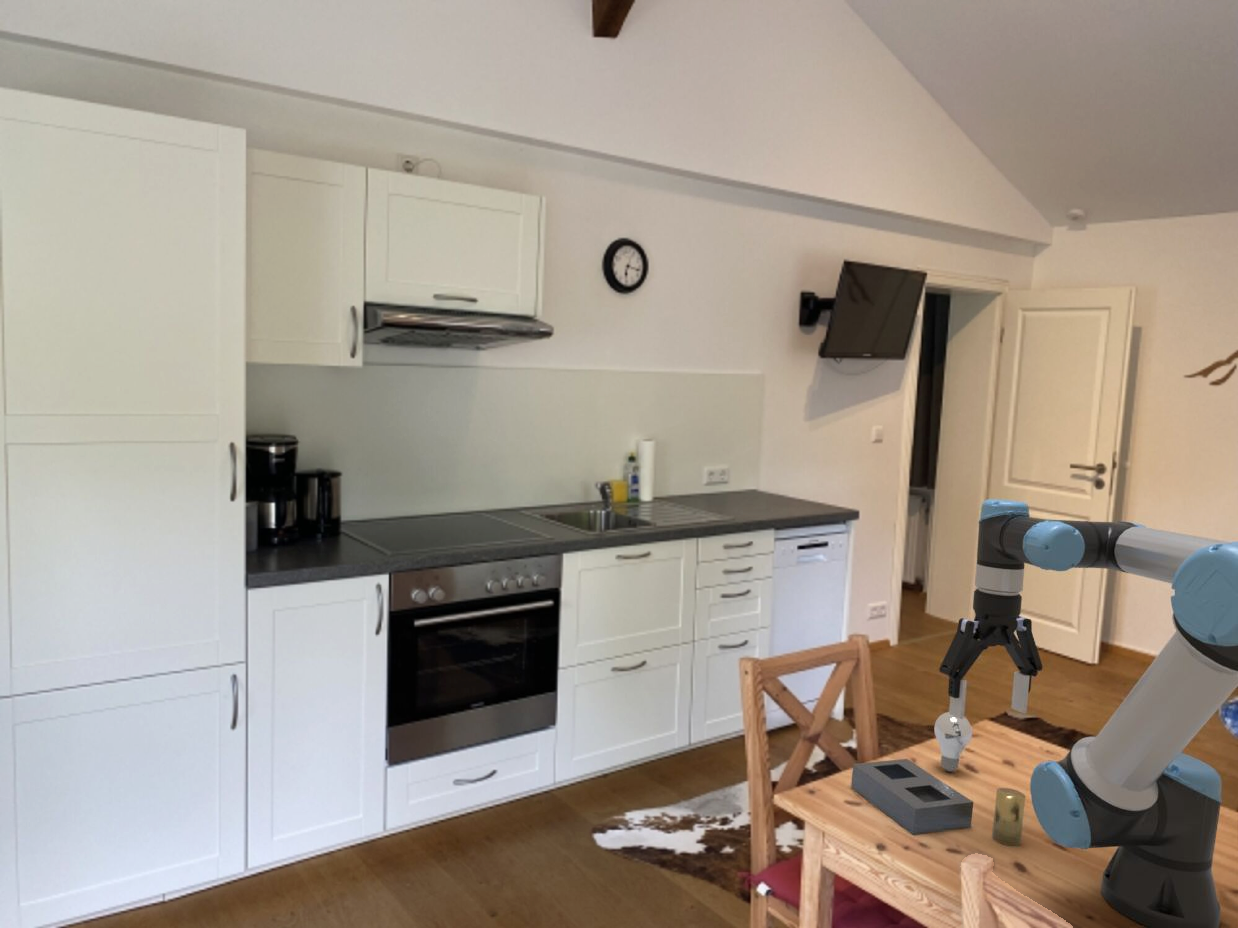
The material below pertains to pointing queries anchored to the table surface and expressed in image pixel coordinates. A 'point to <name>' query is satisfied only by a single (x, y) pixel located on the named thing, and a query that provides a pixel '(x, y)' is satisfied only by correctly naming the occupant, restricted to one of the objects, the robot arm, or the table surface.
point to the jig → (912, 796)
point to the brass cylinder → (1008, 817)
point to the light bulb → (952, 739)
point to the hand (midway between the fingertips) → (988, 713)
